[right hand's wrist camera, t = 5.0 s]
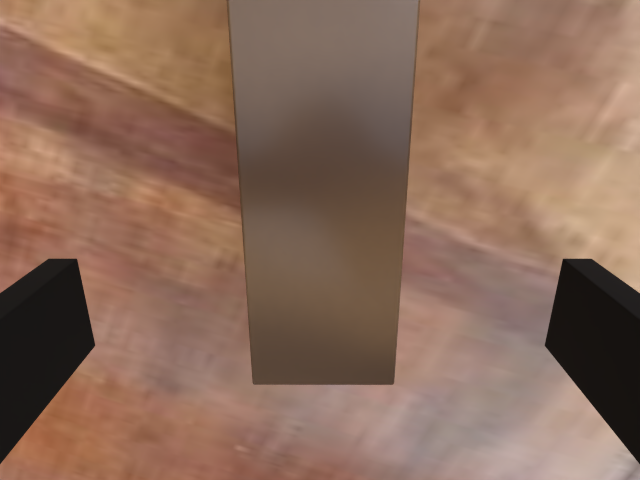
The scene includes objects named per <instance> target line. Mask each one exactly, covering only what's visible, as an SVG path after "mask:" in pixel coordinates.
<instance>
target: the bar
mask: <svg viewBox="0 0 640 480" xmlns="http://www.w3.org/2000/svg"><path fill="white" fill-rule="evenodd" d="M227 10H228V25H229V40H230V54H231V69H232V84H233V99H234V114H235V128H236V143H237V158H238V173H239V187H240V202H241V217H242V232H243V247H244V261H245V276H246V291H247V306H248V321H249V335H250V350H251V365H252V380H253V384H285V385H393V384H394V376H395V362H396V347H397V332H398V318H399V303H400V288H401V274H402V259H403V244H404V230H405V215H406V200H407V186H408V171H409V156H410V142H411V127H412V112H413V98H414V83H415V68H416V54H417V39H418V24H419V10H420V0H227Z"/></svg>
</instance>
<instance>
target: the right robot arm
mask: <svg viewBox="0 0 640 480" xmlns="http://www.w3.org/2000/svg"><path fill="white" fill-rule="evenodd" d="M94 346H95V342H94V338H93V333H92V328H91V323H90V318H89V314H88V309H87V304H86V299H85V295H84V290H83V285H82V280H81V276H80V271H79V266H78V261H77V259H48V260H46V261H45V262H43V263H42V264H41V265H39V266H38V267H36V268H35V269H34V270H32V271H31V272H29V273H28V274H27V275H25V276H24V277H22V278H21V279H20V280H18V281H17V282H15V283H14V284H13V285H11V286H10V287H8V288H7V289H6V290H4V291H3V292H1V293H0V464H1V462H2V461H3V460H4V459H5V457H6V456H7V455H8V454H9V452H10V451H11V450H12V449H13V447H14V446H15V445H16V444H17V442H18V441H19V440H20V439H21V437H22V436H23V435H24V434H25V432H26V431H27V430H28V429H29V427H30V426H31V425H32V424H33V422H34V421H35V420H36V419H37V418H38V416H39V415H40V414H41V413H42V411H43V410H44V409H45V408H46V406H47V405H48V404H49V403H50V401H51V400H52V399H53V398H54V396H55V395H56V394H57V393H58V391H59V390H60V389H61V388H62V386H63V385H64V384H65V383H66V381H67V380H68V379H69V378H70V376H71V375H72V374H73V373H74V371H75V370H76V369H77V368H78V366H79V365H80V364H81V363H82V361H83V360H84V359H85V358H86V356H87V355H88V354H89V353H90V351H91V350H92V349H93V348H94ZM545 346H546V348H547V349H548V350H549V351H550V353H551V354H552V355H553V356H554V358H555V359H556V360H557V361H558V363H559V364H560V365H561V366H562V368H563V369H564V370H565V371H566V373H567V374H568V375H569V376H570V378H571V379H572V380H573V381H574V383H575V384H576V385H577V386H578V388H579V389H580V390H581V391H582V393H583V394H584V395H585V396H586V398H587V399H588V400H589V401H590V403H591V404H592V405H593V406H594V408H595V409H596V410H597V411H598V413H599V414H600V415H601V416H602V418H603V419H604V420H605V421H606V423H607V424H608V425H609V426H610V427H611V429H612V430H613V431H614V432H615V434H616V435H617V436H618V437H619V439H620V440H621V441H622V442H623V444H624V445H625V446H626V447H627V449H628V450H629V451H630V452H631V454H632V455H633V456H634V457H635V459H636V460H637V461H638V462H639V464H640V293H639V292H637V291H636V290H634V289H633V288H632V287H630V286H629V285H627V284H626V283H625V282H623V281H622V280H620V279H619V278H618V277H616V276H615V275H613V274H612V273H611V272H609V271H608V270H606V269H605V268H604V267H602V266H601V265H599V264H598V263H597V262H595V261H594V260H592V259H563V261H562V266H561V271H560V276H559V280H558V285H557V290H556V295H555V299H554V304H553V309H552V314H551V318H550V323H549V328H548V333H547V338H546V342H545Z"/></svg>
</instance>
